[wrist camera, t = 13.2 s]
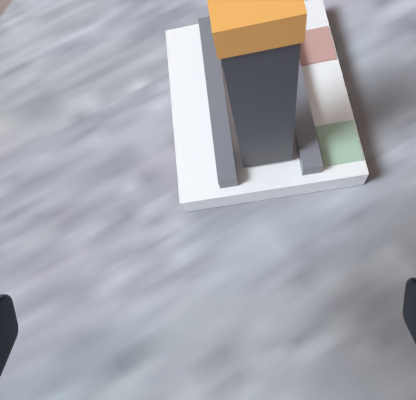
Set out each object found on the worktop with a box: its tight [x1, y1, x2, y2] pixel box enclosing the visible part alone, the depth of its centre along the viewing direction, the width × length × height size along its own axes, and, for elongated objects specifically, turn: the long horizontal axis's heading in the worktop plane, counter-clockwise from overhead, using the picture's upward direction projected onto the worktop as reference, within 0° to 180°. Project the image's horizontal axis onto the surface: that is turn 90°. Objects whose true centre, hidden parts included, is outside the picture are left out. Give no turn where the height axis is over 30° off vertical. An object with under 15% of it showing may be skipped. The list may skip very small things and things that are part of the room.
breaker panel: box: [166, 0, 369, 212], centre depth 23 cm, size 12×10×2 cm
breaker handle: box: [208, 0, 307, 168], centre depth 17 cm, size 2×3×10 cm, turn 96°
